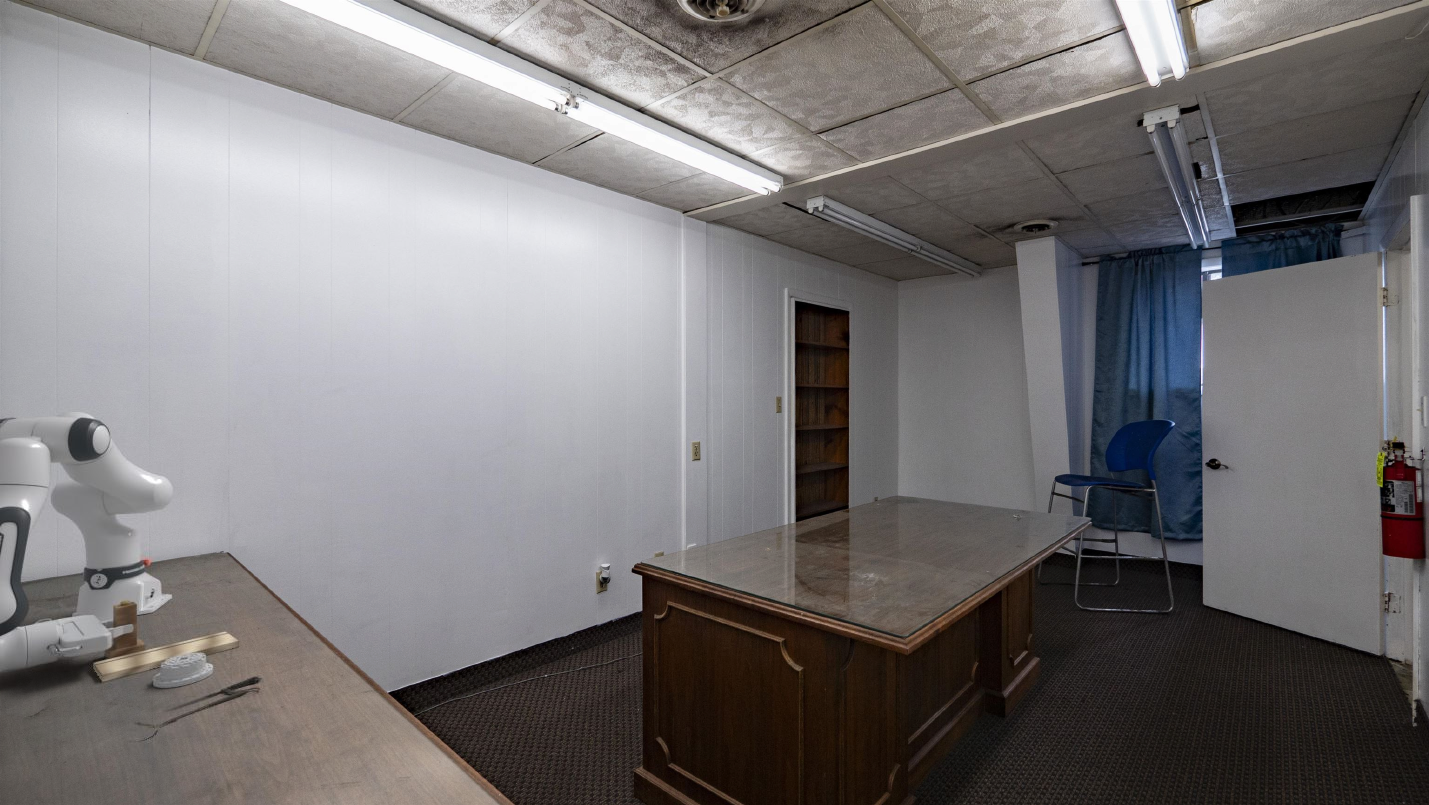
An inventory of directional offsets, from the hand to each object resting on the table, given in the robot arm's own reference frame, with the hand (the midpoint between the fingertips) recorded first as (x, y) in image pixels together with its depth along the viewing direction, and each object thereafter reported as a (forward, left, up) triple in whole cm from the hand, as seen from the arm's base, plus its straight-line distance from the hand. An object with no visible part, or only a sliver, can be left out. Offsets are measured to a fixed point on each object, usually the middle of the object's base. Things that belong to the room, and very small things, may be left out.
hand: (130, 624), depth 147 cm
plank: (+4, +10, -7) cm, 13 cm away
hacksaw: (+33, +31, -8) cm, 46 cm away
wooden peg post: (+1, -1, -7) cm, 7 cm away
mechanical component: (+17, +20, -8) cm, 27 cm away
